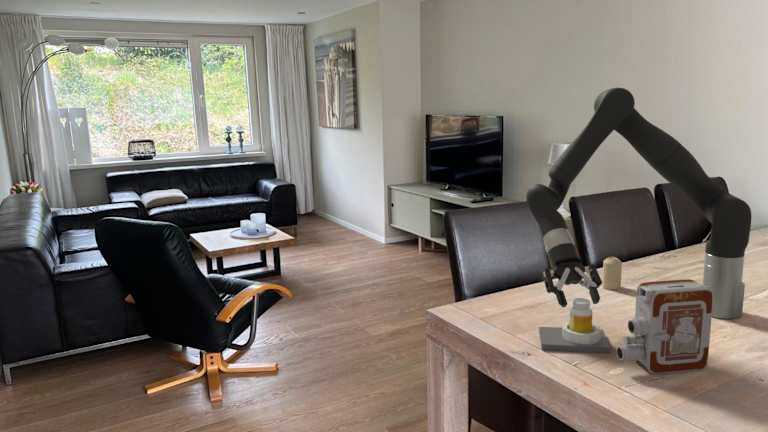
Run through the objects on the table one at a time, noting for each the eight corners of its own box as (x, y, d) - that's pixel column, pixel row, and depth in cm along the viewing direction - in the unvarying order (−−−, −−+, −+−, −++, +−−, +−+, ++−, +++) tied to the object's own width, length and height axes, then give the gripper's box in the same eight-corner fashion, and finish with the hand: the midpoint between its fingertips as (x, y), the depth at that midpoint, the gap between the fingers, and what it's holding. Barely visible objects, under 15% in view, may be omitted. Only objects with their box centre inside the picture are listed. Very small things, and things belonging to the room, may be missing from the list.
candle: (622, 290, 178) (623, 260, 176) (604, 290, 180) (605, 259, 178) (618, 284, 184) (620, 255, 182) (601, 284, 185) (602, 255, 183)
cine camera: (607, 361, 132) (611, 280, 128) (686, 355, 134) (692, 274, 130) (627, 380, 123) (632, 293, 119) (712, 373, 125) (719, 287, 121)
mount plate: (602, 334, 147) (603, 320, 146) (610, 353, 136) (610, 337, 135) (539, 331, 150) (539, 317, 149) (541, 349, 139) (542, 334, 139)
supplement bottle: (564, 334, 144) (565, 299, 142) (581, 330, 146) (582, 295, 144) (578, 342, 139) (579, 306, 137) (596, 338, 141) (597, 302, 139)
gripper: (540, 244, 146) (559, 300, 137) (591, 239, 148) (613, 295, 139) (531, 258, 152) (549, 313, 144) (581, 254, 154) (601, 308, 146)
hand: (580, 304), depth 141 cm, fingers open, 8 cm apart
